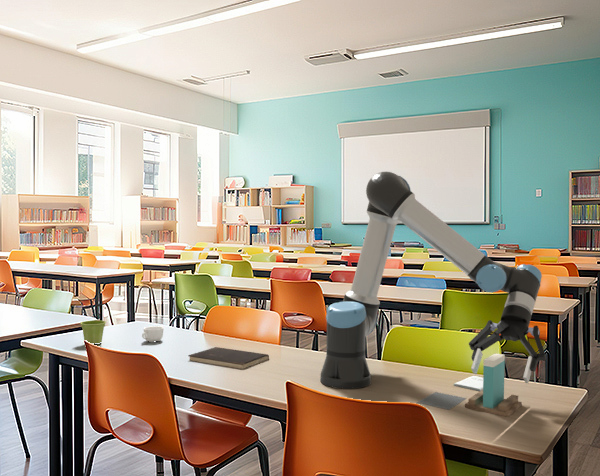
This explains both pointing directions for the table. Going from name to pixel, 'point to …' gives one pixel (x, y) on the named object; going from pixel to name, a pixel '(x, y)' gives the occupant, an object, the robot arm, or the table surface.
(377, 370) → the table surface
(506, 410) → the rack
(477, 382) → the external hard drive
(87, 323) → the plant pot
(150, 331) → the teacup
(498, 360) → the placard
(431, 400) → the mat
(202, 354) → the hardcover book
